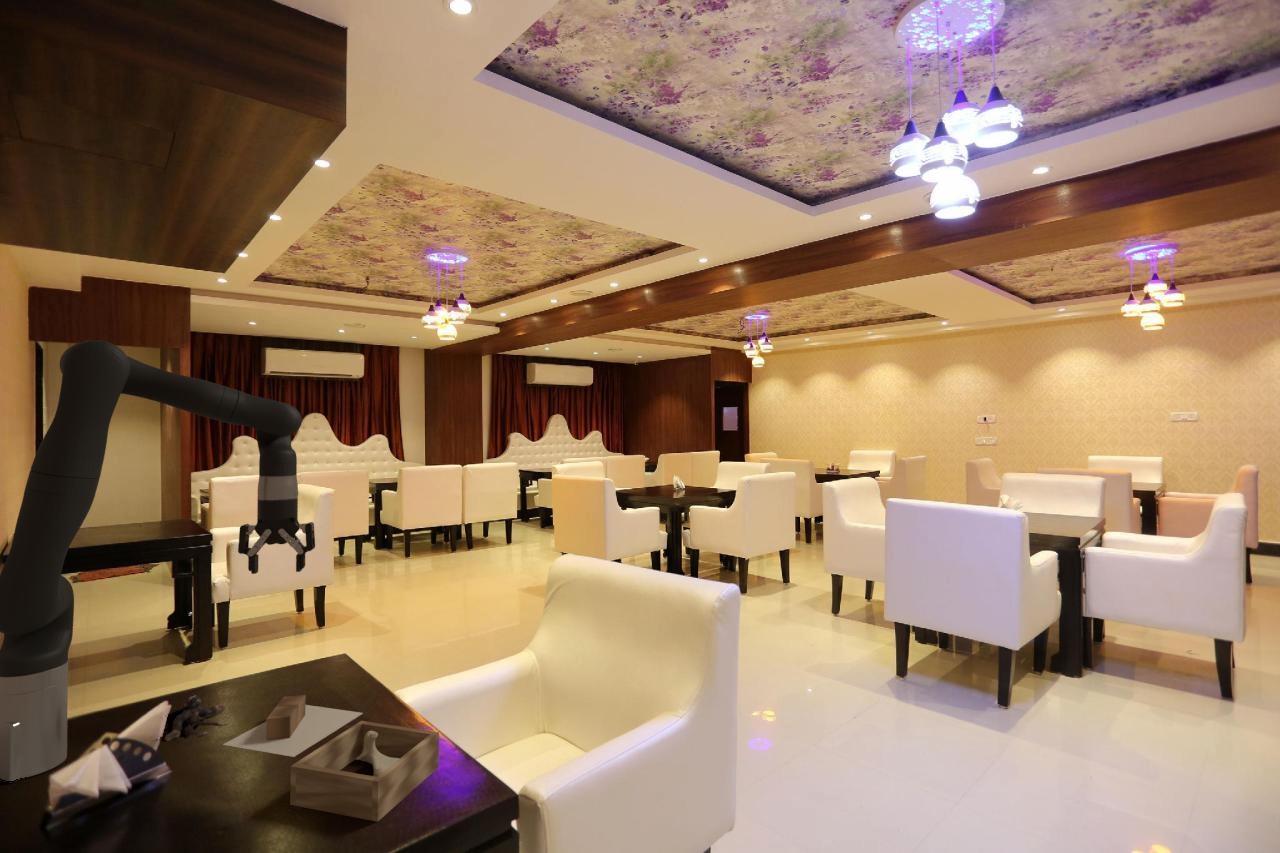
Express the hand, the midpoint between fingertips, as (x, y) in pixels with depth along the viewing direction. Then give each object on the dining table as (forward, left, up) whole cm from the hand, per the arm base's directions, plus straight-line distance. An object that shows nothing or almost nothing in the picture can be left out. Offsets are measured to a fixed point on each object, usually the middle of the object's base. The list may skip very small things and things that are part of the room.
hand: (277, 572), depth 135 cm
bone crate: (-21, -40, -28) cm, 53 cm away
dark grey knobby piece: (-13, +7, -29) cm, 32 cm away
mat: (-9, -14, -28) cm, 33 cm away
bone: (-20, -42, -28) cm, 55 cm away
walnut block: (-5, -9, -26) cm, 28 cm away
